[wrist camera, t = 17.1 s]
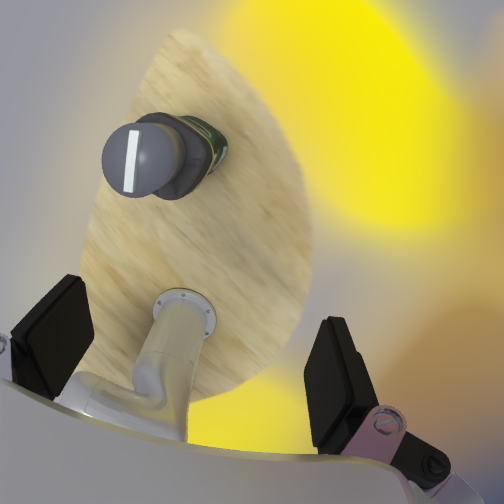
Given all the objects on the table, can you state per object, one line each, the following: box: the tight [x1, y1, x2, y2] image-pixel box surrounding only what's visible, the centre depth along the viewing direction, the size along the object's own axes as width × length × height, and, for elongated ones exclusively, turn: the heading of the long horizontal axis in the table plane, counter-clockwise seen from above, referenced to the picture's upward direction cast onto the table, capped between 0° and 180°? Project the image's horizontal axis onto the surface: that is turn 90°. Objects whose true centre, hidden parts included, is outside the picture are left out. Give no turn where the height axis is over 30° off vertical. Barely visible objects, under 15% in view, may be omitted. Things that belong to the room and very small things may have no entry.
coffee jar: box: [135, 112, 227, 200], centre depth 33 cm, size 10×8×19 cm
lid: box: [102, 123, 186, 198], centre depth 22 cm, size 6×6×6 cm
